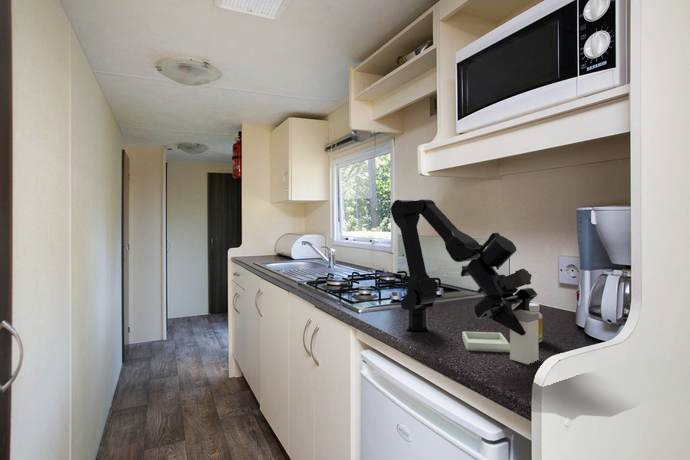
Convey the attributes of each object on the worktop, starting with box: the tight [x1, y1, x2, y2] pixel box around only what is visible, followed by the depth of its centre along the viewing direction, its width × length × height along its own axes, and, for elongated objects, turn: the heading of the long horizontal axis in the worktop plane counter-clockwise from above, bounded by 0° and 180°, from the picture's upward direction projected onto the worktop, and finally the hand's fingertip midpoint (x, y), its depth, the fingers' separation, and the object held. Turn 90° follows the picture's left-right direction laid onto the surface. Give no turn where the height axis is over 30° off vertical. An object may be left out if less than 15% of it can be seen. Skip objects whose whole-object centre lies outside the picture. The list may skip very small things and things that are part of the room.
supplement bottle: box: [529, 302, 543, 344], centre depth 108 cm, size 5×5×10 cm
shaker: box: [509, 310, 539, 365], centre depth 93 cm, size 4×4×11 cm
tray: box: [461, 331, 510, 353], centre depth 104 cm, size 10×10×2 cm
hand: (529, 332), depth 92 cm, fingers closed on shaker, 4 cm apart
